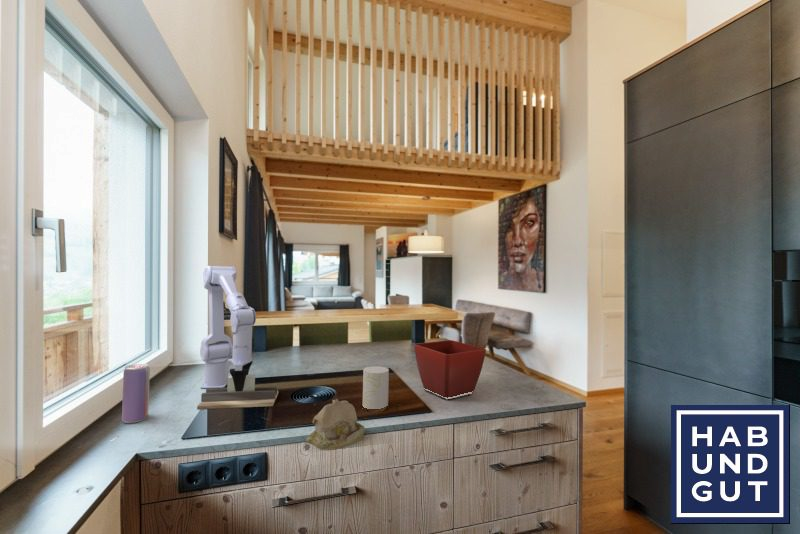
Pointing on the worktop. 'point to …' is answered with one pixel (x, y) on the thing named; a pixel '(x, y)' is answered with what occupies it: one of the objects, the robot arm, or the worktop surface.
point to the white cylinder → (375, 387)
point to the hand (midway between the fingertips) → (241, 387)
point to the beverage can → (135, 393)
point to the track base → (238, 398)
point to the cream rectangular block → (248, 384)
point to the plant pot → (449, 366)
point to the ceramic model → (336, 426)
